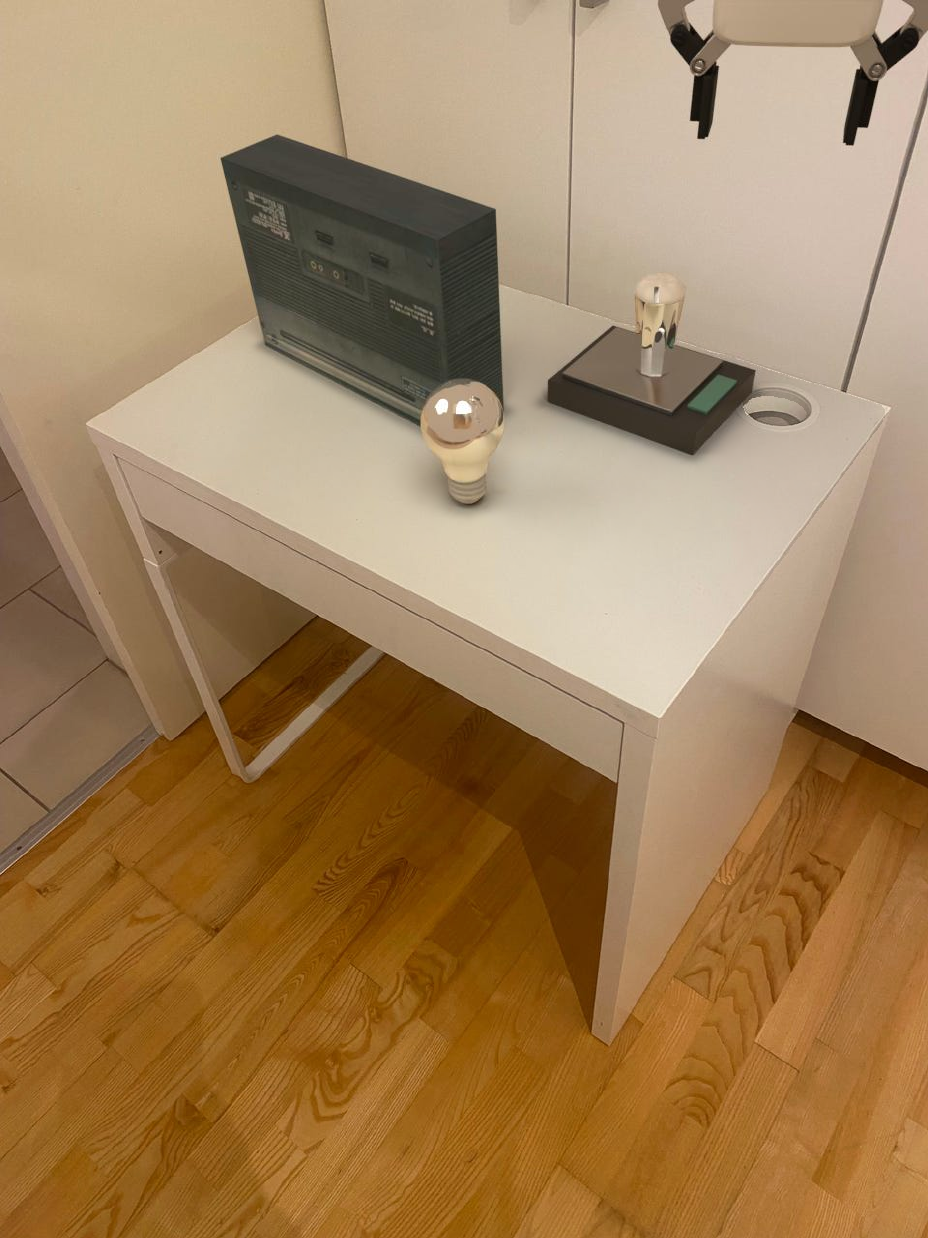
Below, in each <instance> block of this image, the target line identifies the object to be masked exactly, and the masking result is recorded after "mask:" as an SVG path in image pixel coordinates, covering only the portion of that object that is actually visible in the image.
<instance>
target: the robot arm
mask: <svg viewBox="0 0 928 1238" xmlns="http://www.w3.org/2000/svg"><path fill="white" fill-rule="evenodd" d="M694 1H695V0H658V1H657V8H658V11H659V12H660V16H661V18H662V21H663V23H664V26H665V28H666V30H667V32H668V36H669V37H670V38H669V40H670V43H671V45H672V46H673V47H674V49H675V50H676V51H677V53H678V54H679V55H680V56H681V58H682V59H683V60H684V61H685V62H686V64H687V65H688V66H689V71H690V73H691V74H692V75H693V83H692V91H691V92H692V94H691V101H690V103H691V105H690V114H689V116H690V117H689V121H690V122H698V124H697V125H698V126H697V136H696V139H697V140H705V139H706V138H709V135H710V133H711V129H712V126H713V122H714V114H715V105H716V96H717V87H718V80H719V79H718V78H719V71H720V65H717V64H718V62H717V60H719V58H720V57H722V55H723V54H724V53H725V52H726V51H727V50H728V48H729V47H730V46H731V45H732V46H733V45H735V46H746V47H747V46H748V47H781V48H782V47H783V48H785V47H786V48H848V47H849V48H850V49H851V51H852V53H853V55H854V56H855V58H856V60H857V61H858V63H859V68H856V69H855V74H854V79H853V82H852V83H853V84H852V88H851V92H850V97H849V102H848V107H847V112H846V116H845V121H844V125H843V126H844V127H843V135H842V144H845V146H849V147H850V146H854V145H855V141H856V137H857V132H858V129H868V128H869V126H870V121H871V118H872V112H873V108H874V104H875V101H876V100H875V99H876V95H877V90H878V87H879V83H880V80H882V79H883V78H884V77H885V76H886V74H887V72H888V71H889V70H891V69H892V68H893V67H894V66H896V64H897V63H899V62H901V60H903V59H905V57H906V56H908V55H910V53H911V52H913V51H914V50H916V48H917V46H918V45H919V42H920V41H921V40H922V38H923V37H924V36H925V35H926V34H927V32H928V0H901V1H903V2H904V3H905V4H907V5H908V6H910V7H911V8H912V9H913V10H912V12H911V14H909V16H908V18H907V20H906V21H905V23H904V24H903V25H902V26H901V27H900V28H898V29H897V30H896V31H895V32H893V33H892V34H891V35H890V36H888V37H887V38H886V39H885V40H884V41H883V42H882V40H881V39H880V37H879V35H878V33H877V32H876V29H877V26H878V24H879V19H880V16H881V12H882V10H883V9H882V8H883V4H884V1H885V0H713V7H712V30H711V31H710V32H709V33H708V34H707V35H706V36H705V37H704V38H703V37H702V36H701V35H700V34H699V32H698V31H697V30H696V29H695V27H694V26H693V25H692V23H690V21H689V19H688V16H687V12H686V6H687V5H689V4H690V3H693V2H694Z"/></svg>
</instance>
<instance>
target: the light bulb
mask: <svg viewBox="0 0 928 1238" xmlns="http://www.w3.org/2000/svg"><path fill="white" fill-rule="evenodd" d="M504 413H505V412H504V411H503V408H502V406H501V403H500V401H499V399H498V398H497V396H496V395H495V394H494V392H493V391H492V390H491V389H490V388H488V387H487V386H486V385H485V384H483V383H481V382H479V381H476V380H474V379H470V378H455V379H451V380H448V381H446V382H444V383H442V384H440V385H439V386H437V387H436V388H435V389H434V390H433V391H432V392H431V393H430V394H429V396H428V397H427V399H426V401H425V403H424V405H423V409H422V413H421V426H420V431H421V434H422V438H423V440H424V441H425V444H426V446H427V447H428V448H429V450H430V451H431V453H433V454H434V456H435V457H436V458H438V459H439V461H440V462H441V464H442V468H443V470H444V472H445V474H446V476H447V484H448V492H449V494H450V495H451V496H452V498H453V499H455V500H456V501H458V502H459V503H461V504H465V505H472V504H474V503H475V502H477V501H479V500H480V499H481V498H483V496H485V494H486V493H487V491H488V489H487V475H486V472H487V471H488V469H489V461H490V457H491V456H492V455H493V454H494V452H495V451H496V449H497V447H498V446H499V444H500V442H501V440H502V437H503V434H504V430H505V414H504Z"/></svg>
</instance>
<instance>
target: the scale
mask: <svg viewBox="0 0 928 1238" xmlns="http://www.w3.org/2000/svg"><path fill="white" fill-rule="evenodd" d="M756 372H757V370H756V369H753V368H751V367H747V366H745V365H741V364H738V363H735V362H731V361H728V360H724V359H722V358H719V357H715V356H712V355H709V354H705V353H703V352H699V351H696V350H693V349H689V348H686V347H683V346H680V345H677V344H675V345H674V350H673V355H672V361H671V366H670V369H669V372H668V373H666V374H664V375H662V376H653V377H650V376H647V375H643V374H641V373H640V372H639V371H638V370H637V369H636V331H633V330H629V329H626V328H623V327H619V326H616V325H611V326H610V327H609V328H608V329H606V330H605V331H604V332H603V333H602V334H601V335H599V336H598V337H597V338H595V340H593V342H591V343H590V344H589V345H587V346H586V347H585V348H584V349H582V351H580V352H579V353H578V354H577V355H576V356H575V357H573V358H572V359H571V360H570V361H569V362H568V363H566V364H565V365H564V366H562V367H561V368H560V369H559V370H558V371H557V372H556V373H554V374H553V375H552V376H551V377H549V378H548V379H547V403H550V404H553V405H555V406H558V407H561V408H563V409H566V410H569V411H572V412H574V413H578V414H580V415H582V416H586V417H588V418H591V419H594V420H596V421H599V422H602V423H604V424H606V425H607V424H608V425H610V426H612V427H615V428H618V429H620V430H623V431H626V432H629V433H631V434H634V435H637V436H639V437H643V438H645V439H648V440H650V441H653V442H656V443H659V444H661V445H664V446H666V447H669V448H672V449H675V450H677V451H680V452H684V453H685V454H689V455H691V456H694V454H695V453H697V451H698V450H699V449H700V448H701V447H702V446H703V445H704V444H705V443H706V442H707V440H709V438H710V437H712V435H714V434H715V432H716V431H717V430H718V428H720V427H721V426H722V425H723V424H724V422H726V420H727V419H728V418H729V417H730V416H731V415H732V414H733V413H735V411H736V410H737V409H738V407H739V406H741V404H743V402H744V401H745V400H746V399H747V398H748V397H749V396H750V395H751V394H752V393H753V388H754V384H755V377H756Z"/></svg>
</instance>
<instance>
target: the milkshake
mask: <svg viewBox="0 0 928 1238" xmlns="http://www.w3.org/2000/svg"><path fill="white" fill-rule="evenodd" d="M686 293H687V286H686V284H685V282H684V281H683V280H682V279H681V278H680V277H678V276H676V275H675V274H673V273H669V272H658V273H649V274H647V275H645V276H643V277H642V278H641V279H639V281H638V282H637V283H636V284H635V286H634V301H635V302H634V306H635V307H634V309H635V310H634V311H635V332H636V369H637V370H638V371H639V372H640V373H641V374H643V375H647V376H650V377H653V376H662V375H664V374H666V373H668V372H669V369H670V366H671V361H672V355H673V350H674V345H676V344H675V343H676V338H677V334H678V328H679V324H680V319H681V317H682V311H683V308H684V304H685V303H684V302H685V298H686Z"/></svg>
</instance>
